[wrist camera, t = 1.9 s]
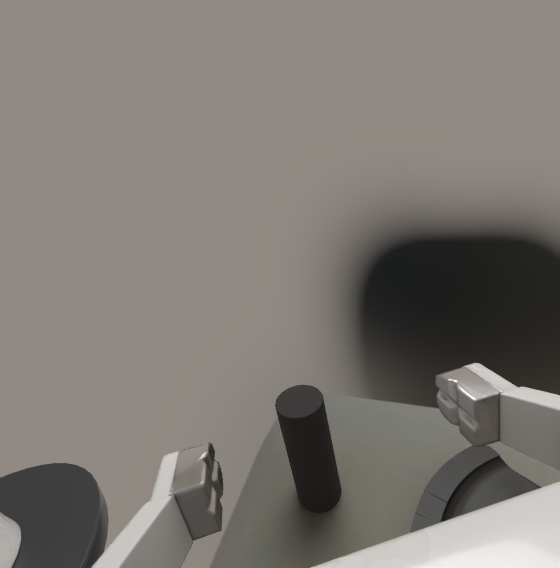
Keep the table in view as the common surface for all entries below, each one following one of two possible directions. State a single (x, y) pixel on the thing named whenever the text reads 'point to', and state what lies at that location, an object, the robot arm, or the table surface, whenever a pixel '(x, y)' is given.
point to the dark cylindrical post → (309, 446)
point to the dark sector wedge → (468, 486)
